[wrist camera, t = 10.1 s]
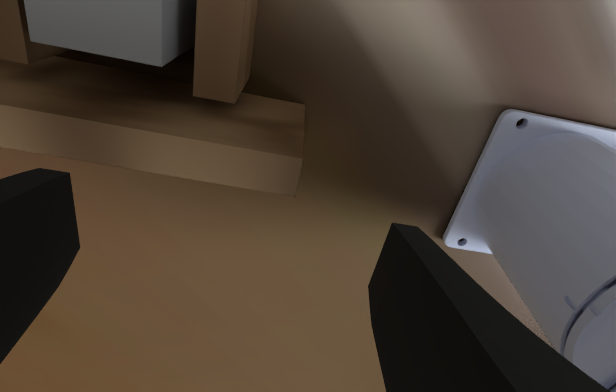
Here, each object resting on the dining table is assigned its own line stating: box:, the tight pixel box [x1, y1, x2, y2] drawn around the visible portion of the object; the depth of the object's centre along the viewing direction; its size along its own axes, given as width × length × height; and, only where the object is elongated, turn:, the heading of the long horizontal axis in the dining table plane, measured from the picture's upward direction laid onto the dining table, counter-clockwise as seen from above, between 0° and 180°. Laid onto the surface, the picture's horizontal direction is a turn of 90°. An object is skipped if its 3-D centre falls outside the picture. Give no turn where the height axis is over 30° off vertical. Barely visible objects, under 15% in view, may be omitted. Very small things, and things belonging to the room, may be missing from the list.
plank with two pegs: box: [0, 0, 305, 197], centre depth 14 cm, size 14×6×6 cm, turn 79°
